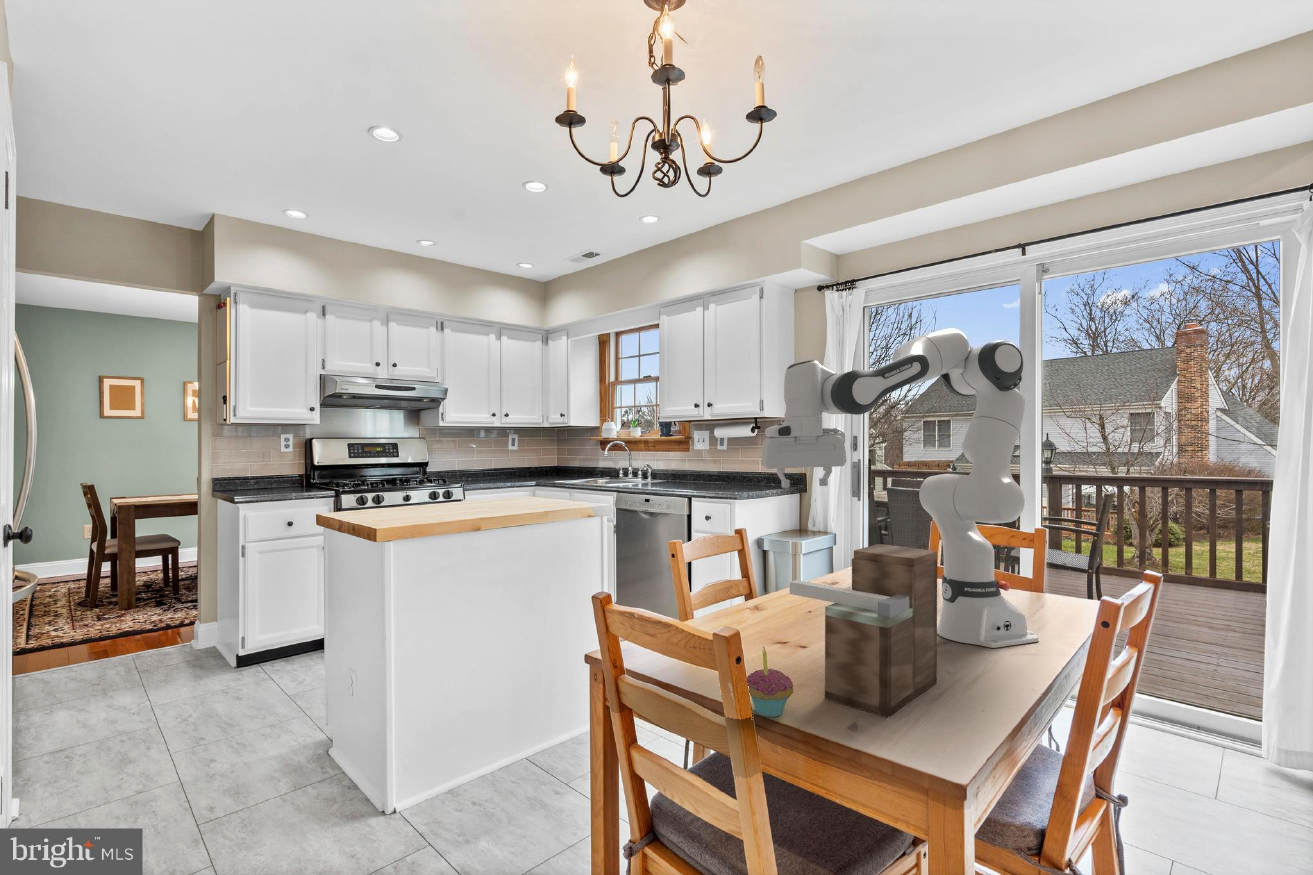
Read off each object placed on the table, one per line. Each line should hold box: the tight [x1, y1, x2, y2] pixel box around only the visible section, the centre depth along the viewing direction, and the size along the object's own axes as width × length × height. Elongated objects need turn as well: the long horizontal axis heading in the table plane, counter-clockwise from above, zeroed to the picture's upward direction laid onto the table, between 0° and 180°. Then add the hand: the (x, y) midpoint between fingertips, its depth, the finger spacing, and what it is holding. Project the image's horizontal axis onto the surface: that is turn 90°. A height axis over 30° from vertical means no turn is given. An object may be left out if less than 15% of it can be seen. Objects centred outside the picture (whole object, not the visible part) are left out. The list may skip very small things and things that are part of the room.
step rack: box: [824, 543, 938, 719], centre depth 126 cm, size 12×22×26 cm, turn 136°
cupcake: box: [746, 646, 794, 718], centre depth 117 cm, size 9×8×12 cm
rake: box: [789, 579, 909, 618], centre depth 125 cm, size 22×8×2 cm, turn 46°
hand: (804, 486), depth 158 cm, fingers open, 8 cm apart
